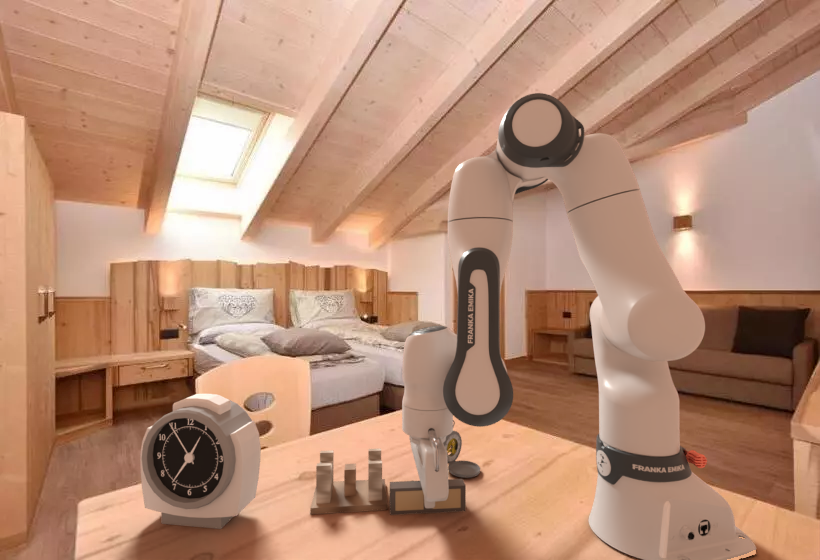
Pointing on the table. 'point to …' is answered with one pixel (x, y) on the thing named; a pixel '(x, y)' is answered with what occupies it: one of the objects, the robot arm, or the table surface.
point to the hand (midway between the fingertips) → (427, 499)
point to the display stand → (349, 487)
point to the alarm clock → (200, 462)
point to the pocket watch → (457, 467)
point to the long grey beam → (410, 498)
